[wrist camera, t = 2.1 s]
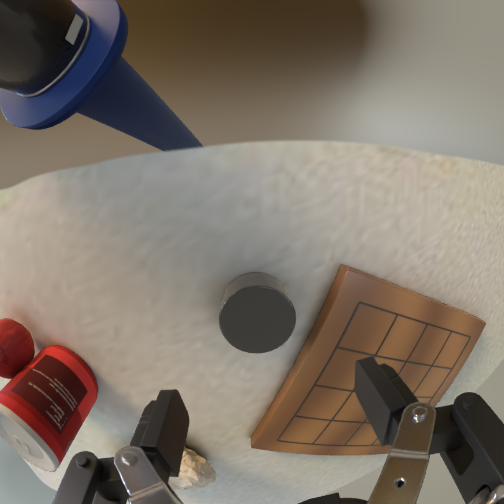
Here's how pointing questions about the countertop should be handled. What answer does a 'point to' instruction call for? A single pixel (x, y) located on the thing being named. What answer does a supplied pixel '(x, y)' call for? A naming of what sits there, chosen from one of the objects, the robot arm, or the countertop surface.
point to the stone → (192, 472)
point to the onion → (14, 348)
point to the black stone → (256, 313)
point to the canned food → (47, 406)
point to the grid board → (358, 347)
